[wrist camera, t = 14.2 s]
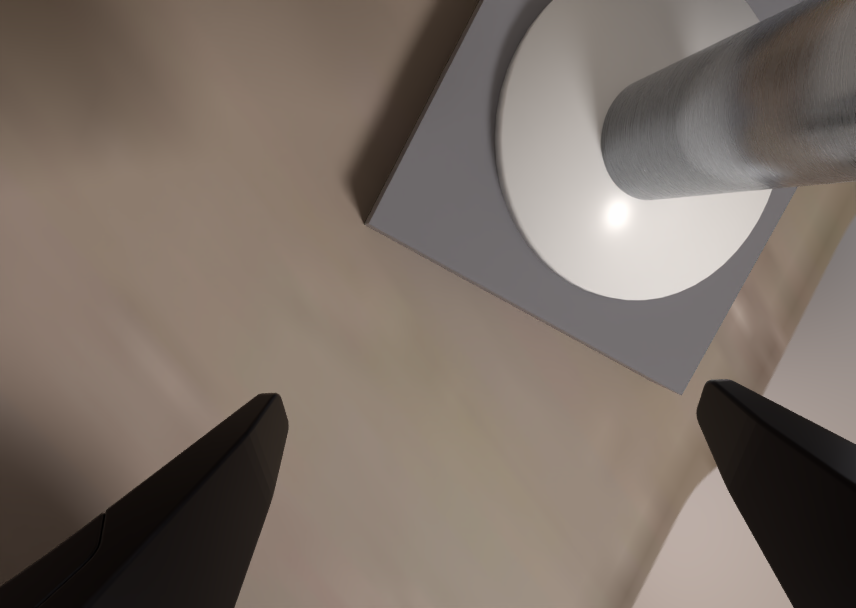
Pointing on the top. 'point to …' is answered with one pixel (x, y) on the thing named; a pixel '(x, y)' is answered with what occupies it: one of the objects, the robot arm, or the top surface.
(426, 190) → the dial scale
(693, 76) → the ball
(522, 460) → the top surface
